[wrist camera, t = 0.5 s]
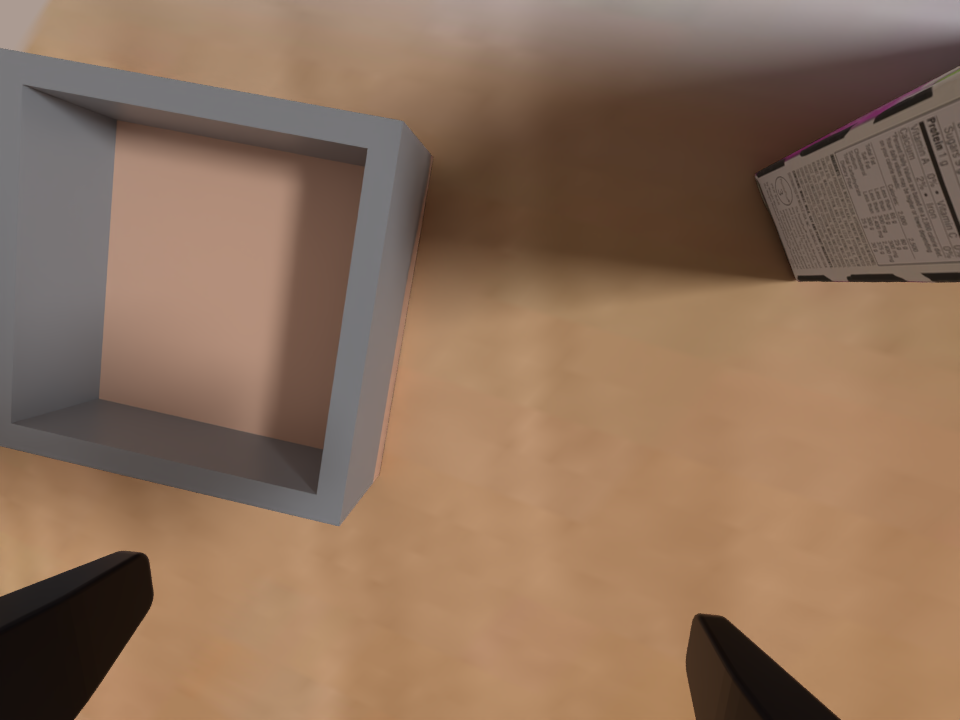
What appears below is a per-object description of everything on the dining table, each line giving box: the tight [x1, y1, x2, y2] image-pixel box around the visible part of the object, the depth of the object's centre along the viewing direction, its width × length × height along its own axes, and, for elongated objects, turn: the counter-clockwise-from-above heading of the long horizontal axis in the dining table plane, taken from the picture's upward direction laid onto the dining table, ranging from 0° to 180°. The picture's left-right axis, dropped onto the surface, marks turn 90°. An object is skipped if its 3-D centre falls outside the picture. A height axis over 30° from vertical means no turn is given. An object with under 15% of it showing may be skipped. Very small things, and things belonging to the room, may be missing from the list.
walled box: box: [0, 48, 433, 526], centre depth 20 cm, size 14×14×5 cm
